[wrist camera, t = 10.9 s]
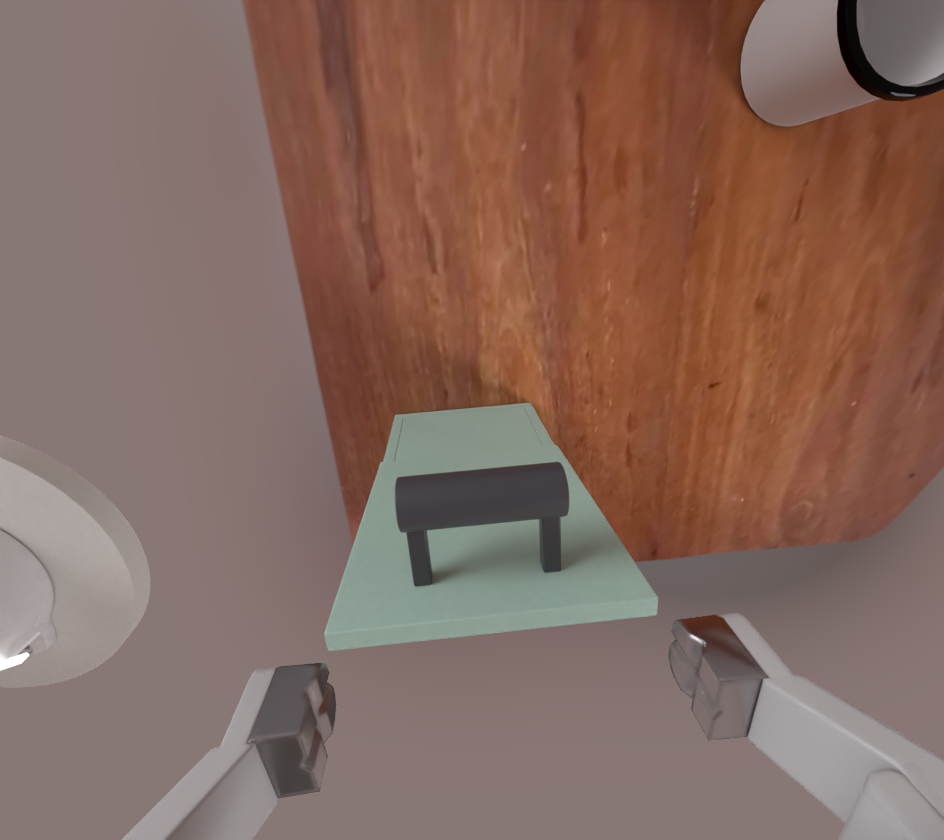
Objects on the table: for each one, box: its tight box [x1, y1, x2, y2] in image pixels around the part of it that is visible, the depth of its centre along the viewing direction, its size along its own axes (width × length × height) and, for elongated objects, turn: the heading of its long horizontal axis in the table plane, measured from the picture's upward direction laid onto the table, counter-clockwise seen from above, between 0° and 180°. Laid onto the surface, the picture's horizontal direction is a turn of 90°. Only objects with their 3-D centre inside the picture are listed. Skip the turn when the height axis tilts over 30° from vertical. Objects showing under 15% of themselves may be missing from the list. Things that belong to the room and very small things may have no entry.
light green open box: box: [383, 403, 555, 462], centre depth 35 cm, size 14×12×9 cm
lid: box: [324, 446, 658, 651], centre depth 21 cm, size 14×12×5 cm
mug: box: [740, 0, 944, 127], centre depth 24 cm, size 12×10×9 cm
